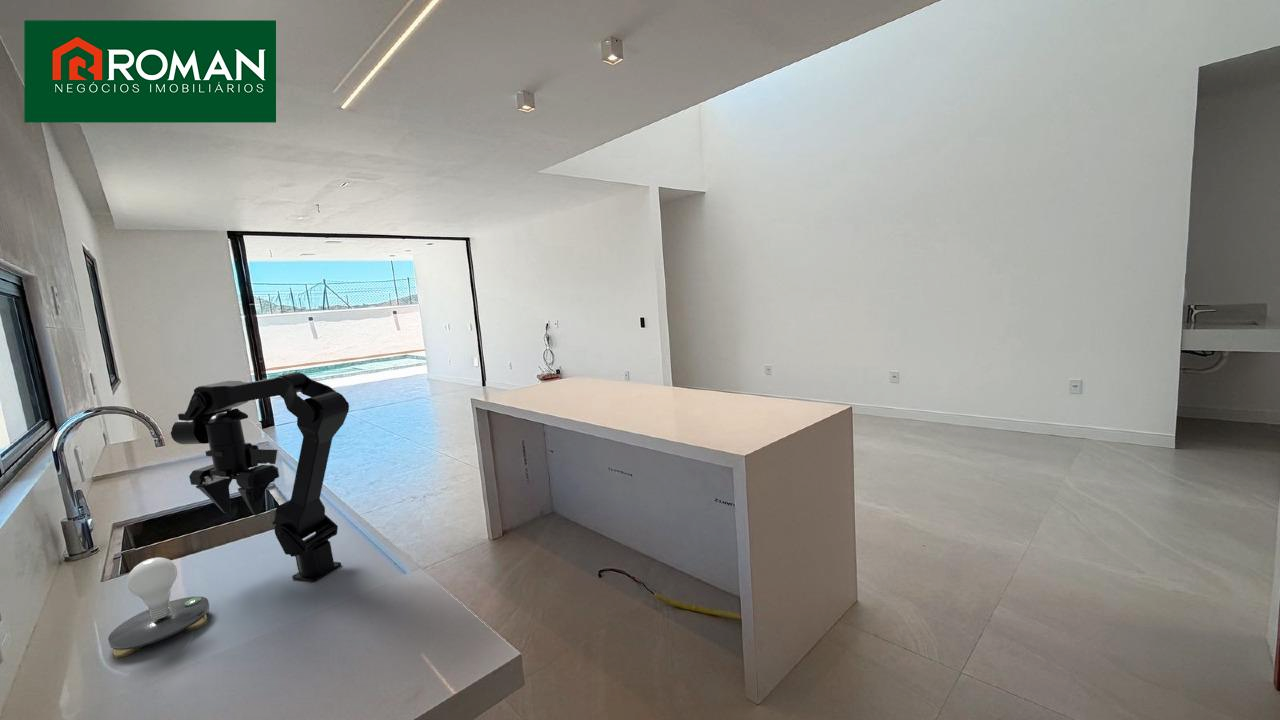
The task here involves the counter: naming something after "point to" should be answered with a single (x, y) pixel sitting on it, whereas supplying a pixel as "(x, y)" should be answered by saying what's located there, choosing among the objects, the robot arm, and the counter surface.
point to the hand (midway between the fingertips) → (242, 513)
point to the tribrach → (158, 625)
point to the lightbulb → (153, 585)
